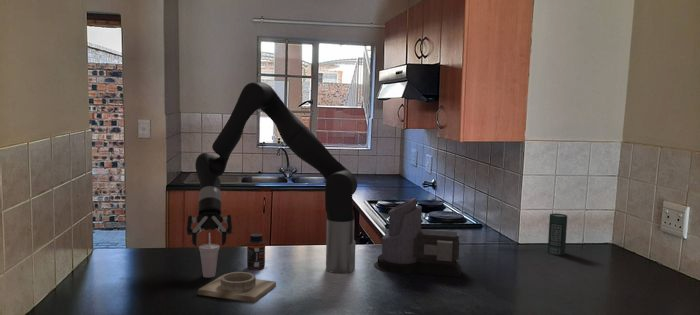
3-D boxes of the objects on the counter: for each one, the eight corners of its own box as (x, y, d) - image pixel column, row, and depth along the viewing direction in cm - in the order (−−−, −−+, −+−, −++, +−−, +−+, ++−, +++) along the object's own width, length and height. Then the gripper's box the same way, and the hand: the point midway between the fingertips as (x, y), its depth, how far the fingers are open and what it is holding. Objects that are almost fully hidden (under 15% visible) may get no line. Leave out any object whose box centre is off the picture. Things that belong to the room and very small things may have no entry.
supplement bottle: (261, 271, 175) (261, 237, 174) (244, 269, 177) (244, 236, 176) (267, 265, 181) (267, 233, 180) (251, 264, 182) (251, 232, 181)
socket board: (275, 286, 161) (276, 273, 160) (255, 302, 147) (255, 288, 147) (222, 279, 166) (222, 267, 165) (198, 294, 152) (198, 281, 152)
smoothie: (201, 280, 165) (201, 235, 164) (196, 274, 171) (196, 231, 169) (221, 277, 168) (221, 234, 167) (216, 271, 174) (216, 229, 172)
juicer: (370, 271, 179) (372, 199, 176) (378, 258, 194) (379, 192, 192) (461, 279, 172) (464, 204, 170) (461, 265, 188) (464, 196, 186)
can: (566, 252, 208) (568, 214, 206) (562, 255, 203) (565, 217, 201) (549, 249, 211) (552, 212, 210) (546, 253, 206) (548, 215, 205)
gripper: (187, 196, 176) (185, 239, 166) (231, 196, 179) (232, 237, 169) (188, 209, 181) (186, 251, 171) (231, 208, 185) (231, 249, 175)
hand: (209, 244), depth 170 cm, fingers open, 8 cm apart
